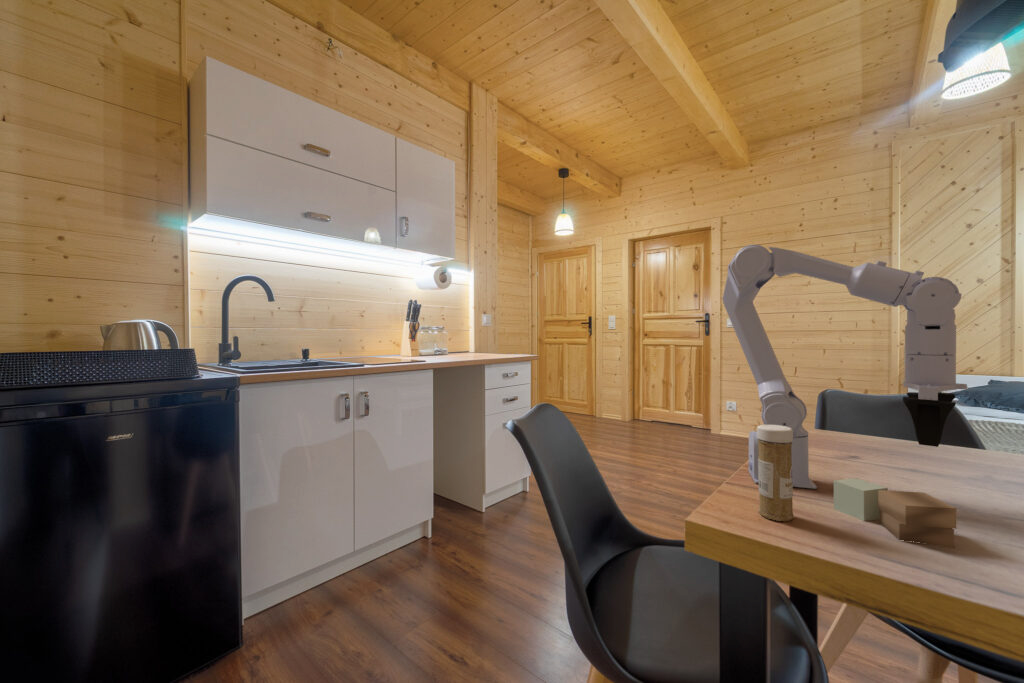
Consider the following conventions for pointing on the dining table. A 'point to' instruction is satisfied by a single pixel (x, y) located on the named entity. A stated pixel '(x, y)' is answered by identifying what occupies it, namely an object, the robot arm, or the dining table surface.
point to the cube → (857, 498)
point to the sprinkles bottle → (775, 472)
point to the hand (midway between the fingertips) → (929, 440)
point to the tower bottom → (917, 532)
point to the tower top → (917, 509)
